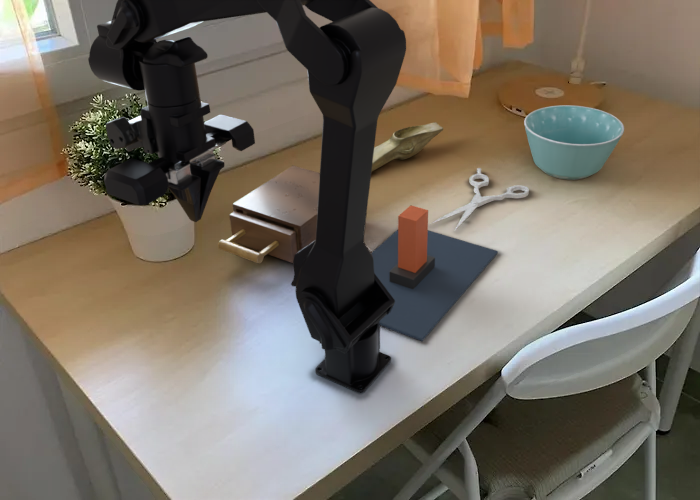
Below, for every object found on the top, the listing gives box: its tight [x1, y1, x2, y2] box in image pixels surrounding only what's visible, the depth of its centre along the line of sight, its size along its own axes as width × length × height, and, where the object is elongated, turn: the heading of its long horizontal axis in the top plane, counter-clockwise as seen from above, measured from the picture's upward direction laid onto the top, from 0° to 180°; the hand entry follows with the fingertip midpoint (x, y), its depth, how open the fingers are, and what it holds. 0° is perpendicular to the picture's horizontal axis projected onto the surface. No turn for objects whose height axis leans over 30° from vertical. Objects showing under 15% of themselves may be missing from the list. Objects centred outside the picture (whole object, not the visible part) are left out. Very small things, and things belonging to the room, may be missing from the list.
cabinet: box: [232, 165, 320, 250], centre depth 104 cm, size 14×12×6 cm
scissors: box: [430, 167, 530, 232], centre depth 110 cm, size 11×1×20 cm
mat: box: [370, 229, 499, 342], centre depth 94 cm, size 22×15×1 cm
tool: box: [371, 121, 444, 173], centre depth 122 cm, size 22×6×5 cm, turn 119°
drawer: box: [217, 211, 300, 264], centre depth 101 cm, size 18×11×5 cm, turn 147°
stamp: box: [389, 204, 435, 289], centre depth 92 cm, size 6×4×10 cm, turn 146°
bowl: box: [523, 104, 625, 181], centre depth 117 cm, size 16×16×8 cm
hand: (195, 220), depth 86 cm, fingers closed
